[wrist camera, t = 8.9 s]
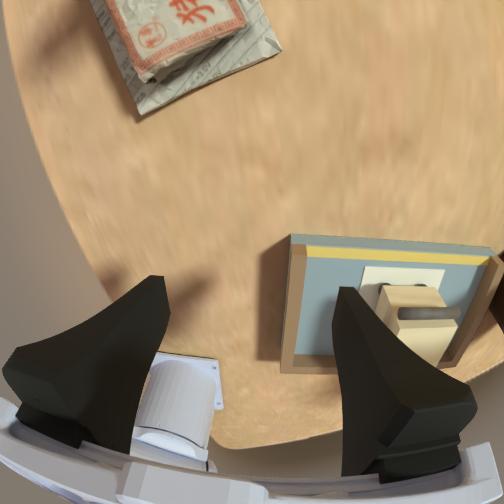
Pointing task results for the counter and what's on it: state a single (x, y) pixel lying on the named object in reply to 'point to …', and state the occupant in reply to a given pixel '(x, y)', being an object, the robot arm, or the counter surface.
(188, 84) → the packaged product
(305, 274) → the dock
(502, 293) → the olive oil
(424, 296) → the beige block with rod
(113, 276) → the counter surface
